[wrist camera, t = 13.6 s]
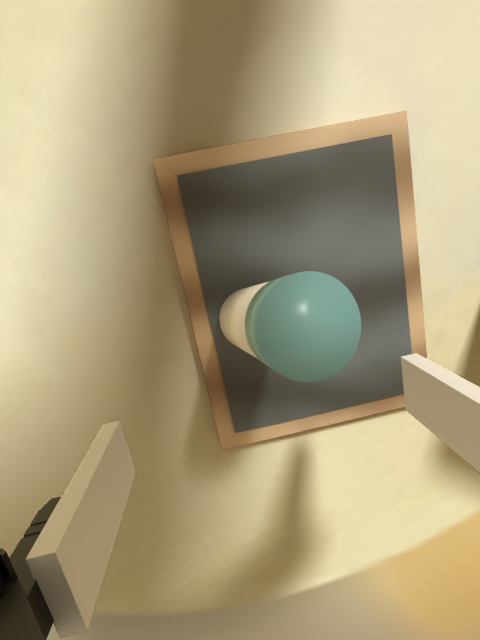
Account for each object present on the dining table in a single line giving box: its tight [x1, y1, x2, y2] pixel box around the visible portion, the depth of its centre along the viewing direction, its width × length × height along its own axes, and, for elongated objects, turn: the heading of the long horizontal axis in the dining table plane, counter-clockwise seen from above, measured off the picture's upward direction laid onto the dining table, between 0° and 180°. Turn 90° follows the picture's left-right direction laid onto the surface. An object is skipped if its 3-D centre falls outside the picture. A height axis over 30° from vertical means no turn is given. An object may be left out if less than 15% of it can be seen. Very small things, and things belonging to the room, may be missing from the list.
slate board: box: [153, 111, 427, 450], centre depth 23 cm, size 20×16×1 cm
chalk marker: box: [219, 271, 361, 382], centre depth 17 cm, size 4×4×10 cm
